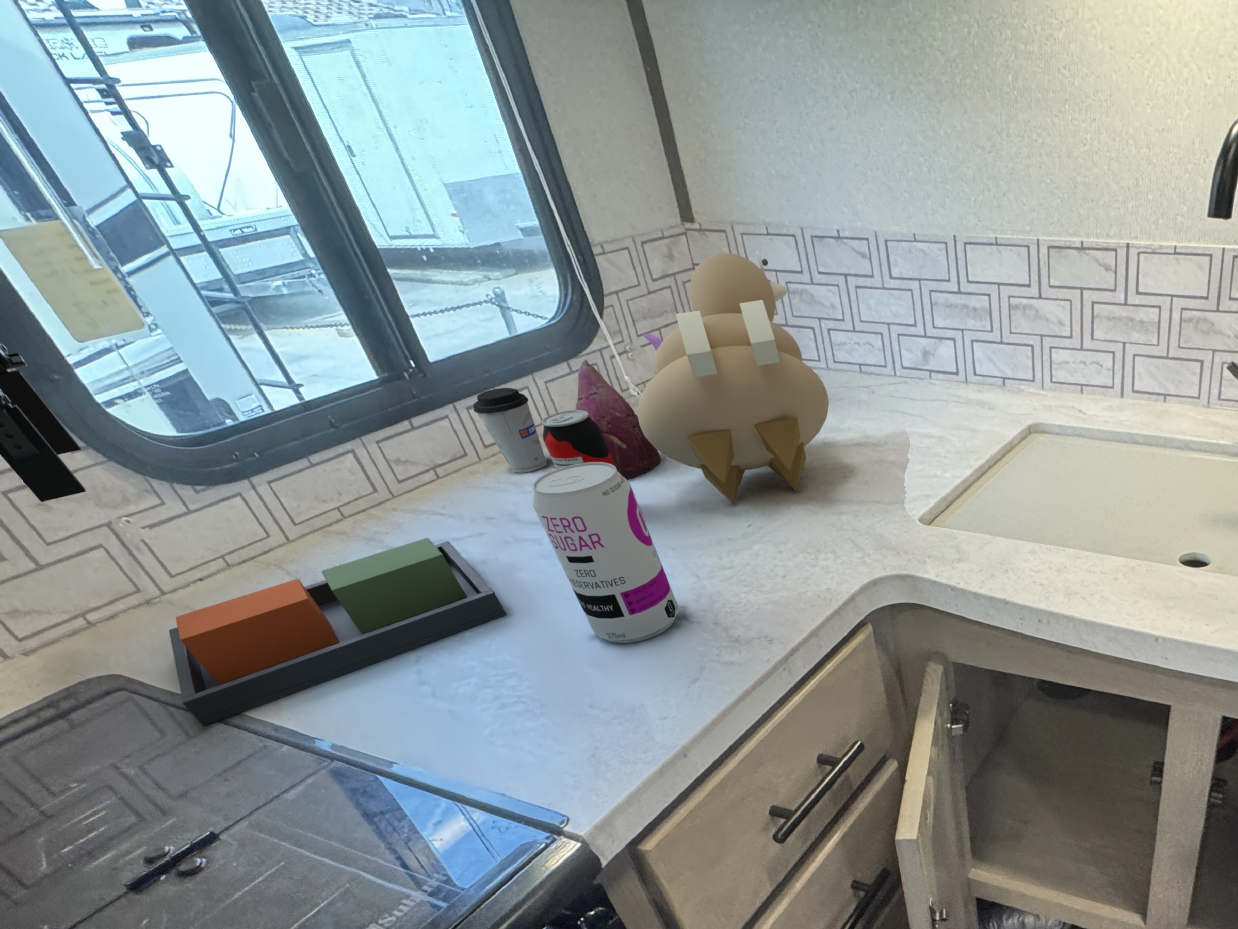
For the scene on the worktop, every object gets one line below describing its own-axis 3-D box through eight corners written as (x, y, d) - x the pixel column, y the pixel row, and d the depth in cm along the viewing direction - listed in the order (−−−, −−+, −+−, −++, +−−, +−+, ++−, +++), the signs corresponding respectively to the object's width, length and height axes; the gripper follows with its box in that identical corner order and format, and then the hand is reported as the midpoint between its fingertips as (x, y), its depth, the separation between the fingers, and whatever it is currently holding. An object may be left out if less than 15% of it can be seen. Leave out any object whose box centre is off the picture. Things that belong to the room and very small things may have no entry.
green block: (350, 614, 88) (320, 570, 84) (452, 579, 92) (427, 537, 89) (362, 634, 84) (331, 590, 81) (467, 597, 89) (442, 554, 86)
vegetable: (604, 482, 122) (553, 371, 115) (672, 464, 122) (625, 352, 115) (578, 492, 113) (521, 372, 106) (652, 472, 113) (600, 351, 106)
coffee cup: (494, 477, 117) (458, 403, 111) (516, 459, 122) (482, 387, 116) (543, 474, 117) (509, 399, 110) (563, 455, 122) (532, 383, 116)
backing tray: (187, 651, 85) (168, 629, 83) (460, 561, 97) (448, 540, 95) (203, 726, 74) (182, 703, 73) (506, 614, 87) (494, 592, 85)
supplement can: (678, 597, 87) (622, 453, 77) (682, 634, 81) (622, 484, 72) (597, 615, 85) (529, 470, 76) (595, 654, 80) (521, 503, 70)
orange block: (213, 661, 82) (175, 616, 78) (329, 621, 87) (298, 578, 83) (219, 685, 78) (179, 639, 75) (340, 642, 83) (307, 598, 80)
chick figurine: (774, 162, 90) (551, 187, 85) (847, 415, 90) (629, 454, 86) (796, 322, 119) (631, 347, 114) (850, 512, 120) (688, 545, 115)
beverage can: (642, 511, 105) (604, 412, 97) (599, 530, 101) (555, 429, 93) (612, 502, 108) (573, 405, 100) (569, 520, 104) (524, 422, 96)
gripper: (-140, 161, 50) (128, 501, 64) (-102, 145, 64) (112, 427, 79) (-331, 176, 47) (-2, 532, 61) (-246, 155, 61) (5, 449, 75)
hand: (62, 473), depth 70 cm, fingers open, 13 cm apart
